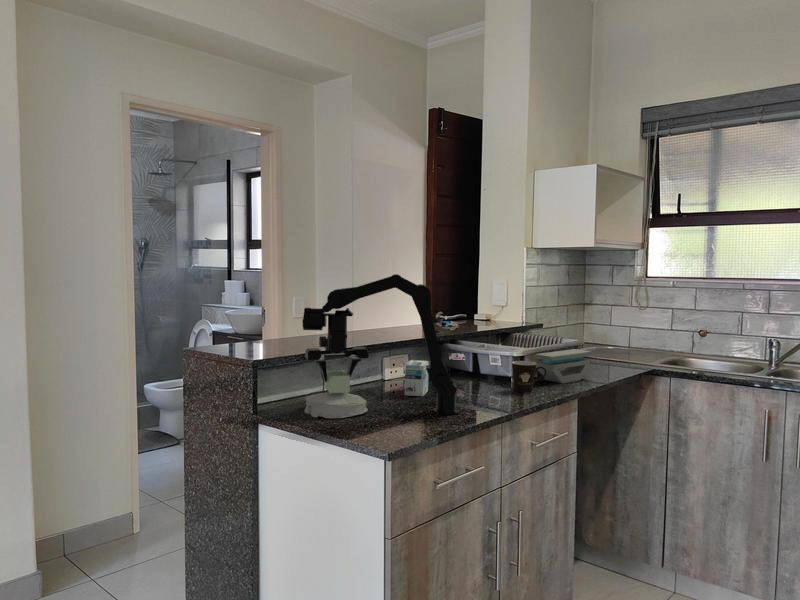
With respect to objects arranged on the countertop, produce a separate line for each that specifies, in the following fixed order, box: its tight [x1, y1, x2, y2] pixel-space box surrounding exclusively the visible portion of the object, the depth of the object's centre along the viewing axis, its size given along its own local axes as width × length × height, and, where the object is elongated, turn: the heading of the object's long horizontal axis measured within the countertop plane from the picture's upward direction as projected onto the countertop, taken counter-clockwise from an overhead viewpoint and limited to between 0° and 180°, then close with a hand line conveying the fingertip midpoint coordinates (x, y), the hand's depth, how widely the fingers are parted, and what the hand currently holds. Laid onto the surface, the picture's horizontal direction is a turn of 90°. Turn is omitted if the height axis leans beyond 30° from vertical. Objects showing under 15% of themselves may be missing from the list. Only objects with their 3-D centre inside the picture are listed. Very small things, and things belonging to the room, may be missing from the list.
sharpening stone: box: [534, 348, 593, 384], centre depth 245 cm, size 25×8×11 cm, turn 128°
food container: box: [304, 391, 368, 419], centre depth 191 cm, size 20×20×7 cm
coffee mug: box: [511, 360, 546, 393], centre depth 224 cm, size 12×9×10 cm
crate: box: [323, 369, 351, 393], centre depth 191 cm, size 9×6×5 cm, turn 17°
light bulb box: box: [404, 359, 429, 397], centre depth 217 cm, size 11×7×11 cm, turn 168°
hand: (336, 381), depth 191 cm, fingers open, 7 cm apart
